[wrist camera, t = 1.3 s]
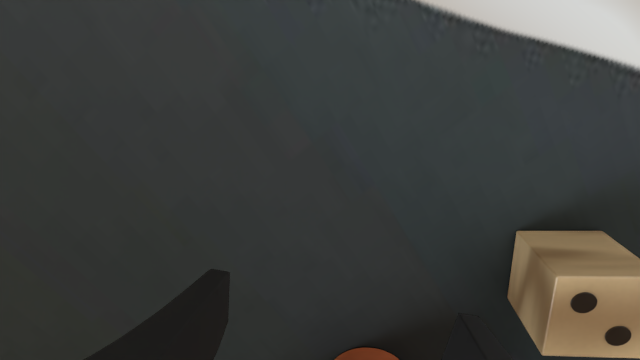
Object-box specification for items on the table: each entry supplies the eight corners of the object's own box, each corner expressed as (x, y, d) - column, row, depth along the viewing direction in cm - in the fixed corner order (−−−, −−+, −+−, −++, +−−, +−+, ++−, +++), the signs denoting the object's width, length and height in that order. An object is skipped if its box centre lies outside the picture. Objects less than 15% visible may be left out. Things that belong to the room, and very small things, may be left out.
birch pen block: (586, 299, 22) (643, 360, 18) (506, 298, 22) (542, 357, 18) (602, 230, 20) (667, 278, 16) (515, 230, 21) (557, 277, 17)
